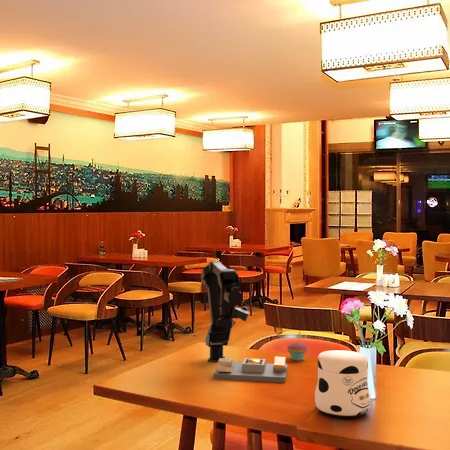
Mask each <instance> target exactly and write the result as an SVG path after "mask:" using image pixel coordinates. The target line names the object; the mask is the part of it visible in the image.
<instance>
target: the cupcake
mask: <svg viewBox="0 0 450 450" xmlns="http://www.w3.org/2000/svg"><path fill="white" fill-rule="evenodd" d="M297 340H298V341H297V342H295V341H293V342H291V343H290V344H289V345H287V349H286V350H287V352H288V353H289V355H290V358H291V360H292V361H298V362H299V361H303V360H304V356H305V354H306V353H307V352H308V346H306V344H305V343H303V342H301V341H300V340H301V331H299V332H298V339H297Z"/></svg>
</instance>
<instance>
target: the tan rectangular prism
mask: <svg viewBox="0 0 450 450" xmlns="http://www.w3.org/2000/svg"><path fill="white" fill-rule="evenodd" d="M233 362H234V360H233V358H225V359H224V358H220V359H219V360H218V361H217V367H218V371H219V372H231V371H232V369H233Z"/></svg>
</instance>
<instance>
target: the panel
mask: <svg viewBox="0 0 450 450" xmlns="http://www.w3.org/2000/svg"><path fill="white" fill-rule="evenodd" d="M248 359H252V358H247V357H244V359H243V362H242V361H241V362H239V361H233V369H232V371H231V372H219V371H218V366H217V367H216V368H215V371H214V372H213V375H212V376H213V380H218V381H220V380H223V381H242V382H244V381H245V382H262V383H265V382H266V383H283V384H284V383H286V378H287V373H288V363H285V369H279V368H274V363H267V362H266V361H267V359H266V358H259V359H260V360H261V364H249V363H248Z"/></svg>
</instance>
